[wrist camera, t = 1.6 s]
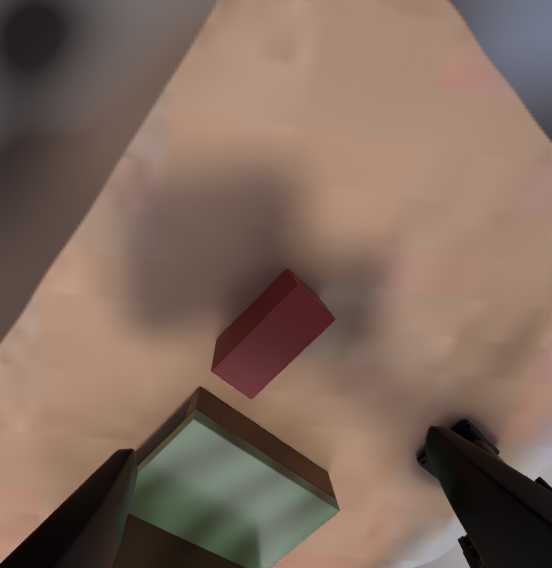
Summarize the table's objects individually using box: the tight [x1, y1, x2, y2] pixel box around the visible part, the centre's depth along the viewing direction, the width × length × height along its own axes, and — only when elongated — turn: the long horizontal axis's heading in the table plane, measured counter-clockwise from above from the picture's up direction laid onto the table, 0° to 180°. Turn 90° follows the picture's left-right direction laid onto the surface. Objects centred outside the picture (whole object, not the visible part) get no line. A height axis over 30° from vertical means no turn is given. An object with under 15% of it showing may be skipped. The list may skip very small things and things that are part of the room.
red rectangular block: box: [211, 268, 335, 399], centre depth 20 cm, size 4×8×4 cm, turn 136°
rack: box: [112, 387, 340, 568], centre depth 23 cm, size 16×20×8 cm
